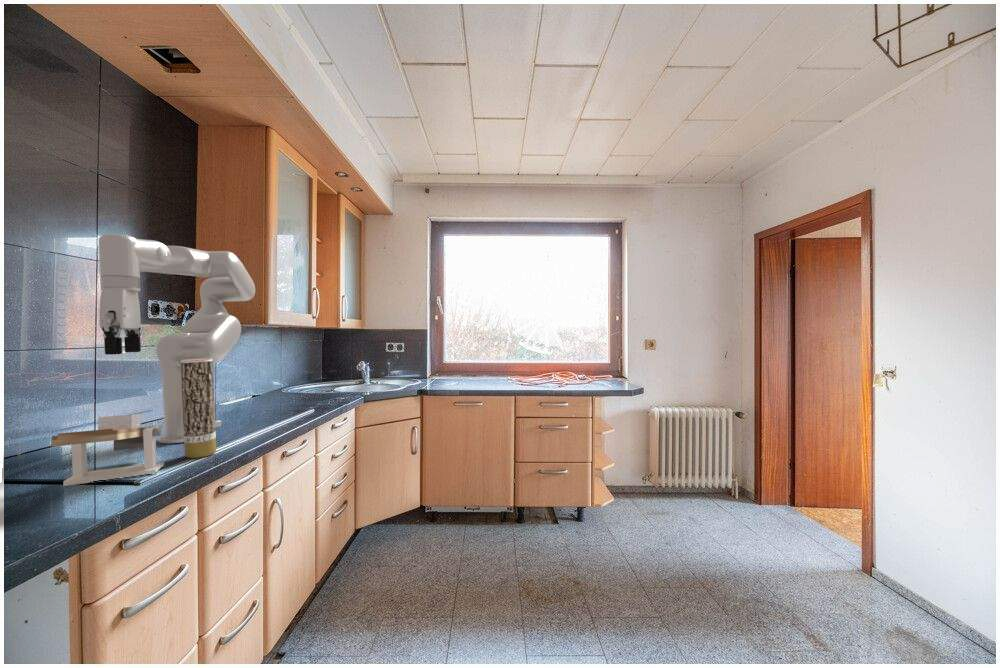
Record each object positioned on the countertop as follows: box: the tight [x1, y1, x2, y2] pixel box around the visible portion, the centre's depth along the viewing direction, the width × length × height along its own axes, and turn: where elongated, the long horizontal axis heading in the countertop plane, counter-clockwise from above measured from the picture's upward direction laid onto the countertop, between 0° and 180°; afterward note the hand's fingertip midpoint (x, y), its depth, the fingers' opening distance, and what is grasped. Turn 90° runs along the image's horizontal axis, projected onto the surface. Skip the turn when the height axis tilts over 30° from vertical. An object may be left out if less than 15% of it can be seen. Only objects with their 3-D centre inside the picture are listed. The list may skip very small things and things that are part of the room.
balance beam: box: [50, 425, 163, 452], centre depth 98 cm, size 28×10×5 cm, turn 23°
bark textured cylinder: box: [181, 358, 217, 459], centre depth 112 cm, size 7×7×25 cm
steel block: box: [97, 413, 142, 430], centre depth 101 cm, size 6×6×4 cm
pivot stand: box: [63, 426, 165, 487], centre depth 98 cm, size 6×17×10 cm, turn 114°
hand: (123, 353), depth 108 cm, fingers open, 9 cm apart
